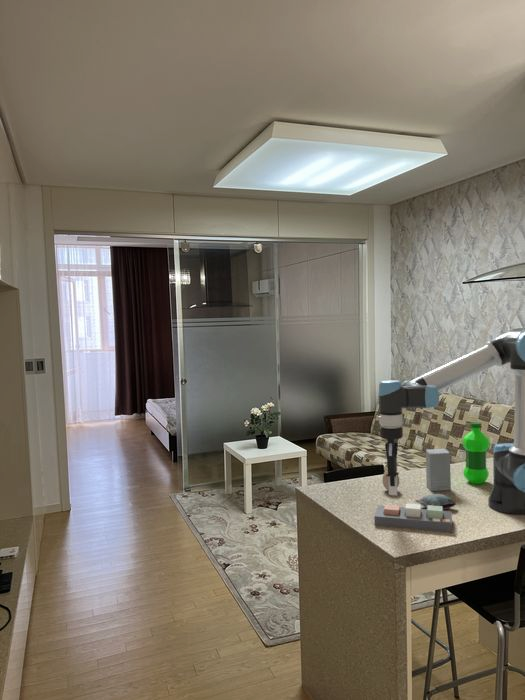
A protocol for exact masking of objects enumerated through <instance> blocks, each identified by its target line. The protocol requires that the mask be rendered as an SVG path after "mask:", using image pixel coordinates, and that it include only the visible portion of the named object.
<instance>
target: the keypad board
mask: <svg viewBox="0 0 525 700" xmlns="http://www.w3.org/2000/svg"><path fill="white" fill-rule="evenodd" d="M405 507H406V506H405ZM405 507H404V506H403V507H402V506H400V515H389V514H384V508H385V505H381V504H380V505H379V504H378V505H377V507H376V510H375V513H374V517H373V518H374V526H383V527H392V528H401V529H402V528H403V529H414V530H421V531H422V530H424V531H432V532H440V533H441V532H444V533H453V516H452V510H451V511H450V510H443V519H438V518H427V508H426V509H425V508H421V517H411V516H405Z"/></svg>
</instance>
